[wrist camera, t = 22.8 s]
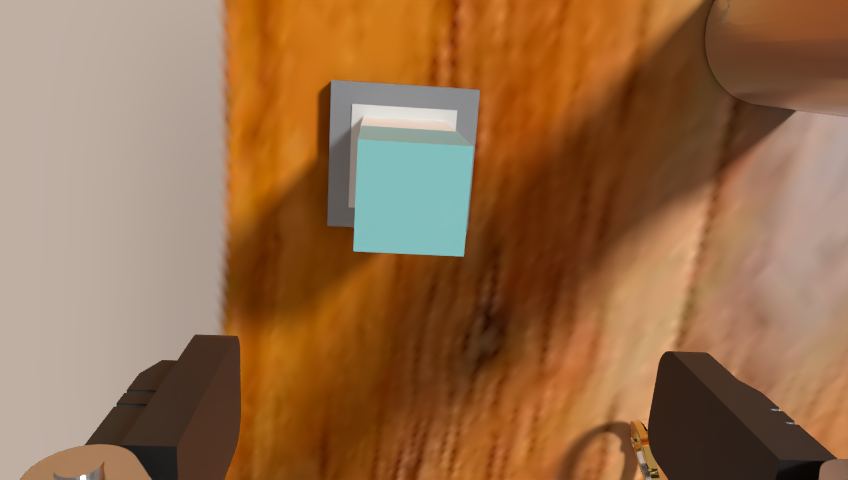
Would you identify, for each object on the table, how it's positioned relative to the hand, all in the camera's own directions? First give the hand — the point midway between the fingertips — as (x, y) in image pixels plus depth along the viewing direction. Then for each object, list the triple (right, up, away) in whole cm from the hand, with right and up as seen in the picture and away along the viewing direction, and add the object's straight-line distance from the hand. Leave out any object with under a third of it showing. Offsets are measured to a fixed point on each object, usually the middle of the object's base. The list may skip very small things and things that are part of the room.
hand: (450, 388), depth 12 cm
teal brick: (-1, +6, +22) cm, 23 cm away
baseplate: (-2, +8, +29) cm, 30 cm away
